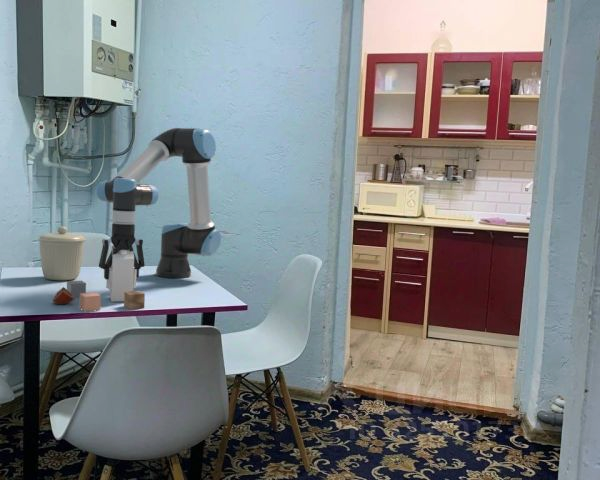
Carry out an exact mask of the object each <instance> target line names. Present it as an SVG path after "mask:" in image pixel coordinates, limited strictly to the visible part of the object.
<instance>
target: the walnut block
mask: <svg viewBox="0 0 600 480" xmlns="http://www.w3.org/2000/svg"><path fill="white" fill-rule="evenodd" d="M145 297H146V293H144V292H142V291H140V290H133V291H128V292H124V301H123V307H125V308H127V309H128V310H137V309H138V310H139V309H140V310H141V309H145V301H146V300H145Z"/></svg>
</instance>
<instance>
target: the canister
mask: <svg viewBox="0 0 600 480" xmlns="http://www.w3.org/2000/svg"><path fill="white" fill-rule="evenodd" d="M36 238H37V240H38V243H39V254H40V263H41V270H42V275H43V277H44V278H45V279H47V280H49V281H64V282H65V281H73V280H75V279H77V278H78V277H79V275H80V273H81V269H82V262H83V255H84V254H83V253H84V248H85V242H86V241H87V238H86V237H84V236H83V235H81V234H78V233H72V232H71V233H69V232H68V228H67V227H66V226H63V225H61V226H59V227H58V228H57V232H49V233H48V232H47V233H43V234H41V235H40V236H38V237H36Z"/></svg>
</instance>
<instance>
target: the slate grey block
mask: <svg viewBox="0 0 600 480" xmlns="http://www.w3.org/2000/svg"><path fill="white" fill-rule="evenodd" d="M66 289H67V290H68V291H69V292H71V293H72V294H73V295H74V297H76V298H80V293H87V292H86V291H87V282H85V281H83V280H66Z"/></svg>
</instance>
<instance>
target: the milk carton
mask: <svg viewBox="0 0 600 480" xmlns="http://www.w3.org/2000/svg"><path fill="white" fill-rule="evenodd" d="M132 248H133V249H134V246H133V245H132ZM113 249H116V248H115V247H114V245H111V251H112V257H113V258H112V265H111V267H110V270H112V281H111V289H109V300H110V301H111V302H124V292H128V291H134V287H133V277H134V254H135V252H133V251H131V252H130V251H129V249H128V250H124V249H123V250H119V252H118V253H117V254H114V255H113Z"/></svg>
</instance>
